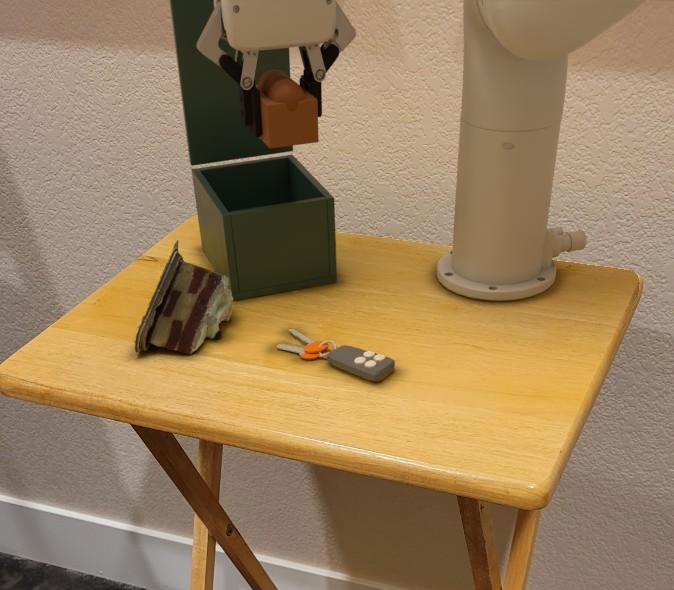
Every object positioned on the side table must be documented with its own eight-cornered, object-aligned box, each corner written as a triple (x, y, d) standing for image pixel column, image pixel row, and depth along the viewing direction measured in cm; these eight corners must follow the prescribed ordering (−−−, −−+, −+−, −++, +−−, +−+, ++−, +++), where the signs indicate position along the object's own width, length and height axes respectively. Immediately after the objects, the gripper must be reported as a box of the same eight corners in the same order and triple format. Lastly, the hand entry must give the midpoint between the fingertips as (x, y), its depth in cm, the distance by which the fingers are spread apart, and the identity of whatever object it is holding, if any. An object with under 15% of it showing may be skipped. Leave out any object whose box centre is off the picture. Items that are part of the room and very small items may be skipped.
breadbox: (337, 282, 95) (334, 197, 89) (232, 301, 92) (222, 215, 86) (297, 233, 105) (292, 154, 99) (202, 249, 102) (191, 168, 96)
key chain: (399, 369, 81) (399, 354, 80) (375, 386, 79) (375, 371, 78) (291, 331, 87) (290, 317, 86) (266, 346, 85) (265, 332, 84)
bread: (295, 121, 87) (292, 63, 83) (319, 142, 82) (317, 82, 78) (248, 126, 86) (243, 68, 82) (269, 149, 81) (266, 87, 77)
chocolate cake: (201, 372, 82) (242, 249, 82) (130, 347, 82) (170, 224, 82) (213, 392, 92) (249, 282, 92) (148, 370, 92) (185, 259, 91)
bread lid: (287, -14, 86) (270, -30, 90) (170, -2, 84) (158, -19, 88) (293, 151, 98) (278, 131, 102) (191, 166, 96) (179, 144, 99)
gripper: (351, -126, 75) (352, 109, 88) (156, -116, 71) (185, 129, 84) (385, -118, 70) (380, 130, 83) (176, -107, 66) (204, 153, 79)
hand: (282, 127), depth 83 cm, fingers closed on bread, 4 cm apart
